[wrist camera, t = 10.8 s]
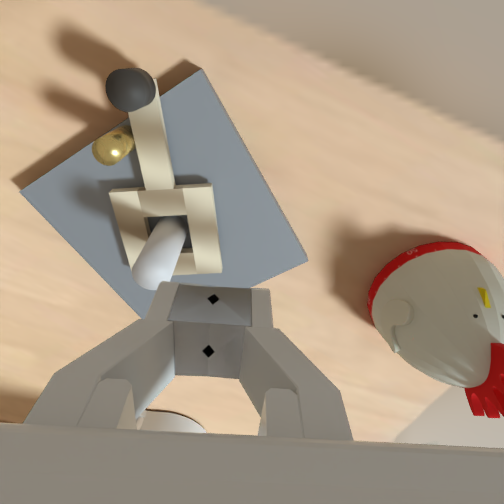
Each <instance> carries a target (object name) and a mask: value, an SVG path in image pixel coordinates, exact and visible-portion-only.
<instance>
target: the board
mask: <svg viewBox="0 0 504 504" xmlns="http://www.w3.org/2000/svg"><path fill="white" fill-rule="evenodd" d="M160 102H161V108H162V113H163V119H164V124H165V130H166V135H167V141H168V146H169V152H170V157H171V163H172V168H173V174H174V180H175V185H186V184H204V183H212V186H213V194H214V202H215V210H216V218H217V226H218V234H219V242H220V251H221V259H222V267H223V268H222V273H209V274H189V275H172V274H173V272H174V269H175V266H176V263H177V260H178V258H179V255H180V252H181V249H182V248H193V247H192V241H191V236H190V230H189V224H188V218H187V215H175V216H157V217H147V218H148V222H149V226H150V231H151V235H150V237H149V238H148V240H147V242H146V244H145V245H144V247H143V249H142V251H141V253H140V254H139V256H138V258H137V260H136V261H135V263H134V265H133V267H132V271H131V268H130V265H129V261H128V258H127V254H126V251H125V247H124V244H123V240H122V237H121V234H120V230H119V227H118V223H117V220H116V216H115V213H114V209H113V206H112V203H111V199H110V196H109V192H110V191H111V190H112V189H118V188H135V187H145V184H144V180H143V175H142V171H141V167H140V162H139V158H138V154H137V149H136V148H135V149H134V150H133V151H131V152H130V153H129V154H128V155H126V156H125V157H124V158H123V159H121V160H120V161H119V162H118V163H116V164H115V165H112V166H106V165H103V164H101V163H99V162H98V161H97V160H96V159H95V157H94V156H93V153H92V144H93V142H94V141H93V142H92V143H91V144H89V145H88V146H86V147H85V148H83V149H82V150H80V151H79V152H77V153H76V154H74V155H73V156H71V157H70V158H68V159H67V160H65V161H64V162H62V163H61V164H59V165H58V166H56V167H55V168H53V169H52V170H51V171H49V172H48V173H46V174H45V175H43V176H42V177H40V178H39V179H37V180H36V181H34V182H33V183H31V184H30V185H28V186H27V187H25V188H24V189H22V190H21V191H19V192H20V193H21V194H22V195H23V196H24V197H25V198H26V199H27V200H28V202H29V203H30V204H31V205H32V206H33V207H34V208H35V209H36V210H37V211H38V212H39V213H40V214H41V215H42V216H43V217H44V218H45V219H46V220H47V221H48V222H49V223H50V224H51V225H52V226H53V227H54V228H55V229H56V230H57V232H58V233H59V234H60V235H61V236H62V237H63V238H64V239H65V240H66V241H67V242H68V243H69V244H70V245H71V246H72V247H73V248H74V249H75V250H76V251H77V252H78V253H79V254H80V255H81V256H82V257H83V258H84V259H85V261H86V262H87V263H88V264H89V265H90V266H91V267H92V268H93V269H94V270H95V271H96V272H97V273H98V274H99V275H100V276H101V277H102V278H103V279H104V280H105V281H106V282H107V283H108V284H109V285H110V286H111V287H112V288H113V290H114V291H115V292H116V293H117V294H118V295H119V296H120V297H121V298H122V299H123V300H124V301H125V302H126V303H127V304H128V305H129V306H130V307H131V308H132V309H133V310H134V311H135V312H136V313H137V314H138V315H139V316H140V317H141V318H142V319H145V317H146V315H147V312H148V310H149V307H150V305H151V303H152V300H153V298H154V295H155V293H156V290H157V288H158V285H159V283H161V282H162V281H168V282H179V283H191V284H202V285H212V286H220V287H235V288H251V287H253V286H255V285H257V284H259V283H262V282H264V281H266V280H268V279H270V278H272V277H275V276H277V275H279V274H281V273H283V272H285V271H288V270H290V269H292V268H294V267H296V266H298V265H301V264H303V263H305V262H307V261H308V258H307V255H306V252H305V251H304V249H303V247H302V245H301V243H300V242H299V240H298V238H297V236H296V235H295V233H294V231H293V229H292V227H291V226H290V224H289V222H288V220H287V219H286V217H285V215H284V213H283V211H282V210H281V208H280V206H279V204H278V203H277V201H276V199H275V197H274V195H273V194H272V192H271V190H270V188H269V187H268V185H267V183H266V181H265V179H264V178H263V176H262V174H261V172H260V170H259V169H258V167H257V165H256V163H255V162H254V160H253V158H252V156H251V154H250V153H249V151H248V149H247V147H246V146H245V144H244V142H243V140H242V138H241V137H240V135H239V133H238V131H237V130H236V128H235V126H234V124H233V122H232V121H231V119H230V117H229V115H228V114H227V112H226V110H225V108H224V106H223V105H222V103H221V101H220V99H219V98H218V96H217V94H216V92H215V90H214V89H213V87H212V85H211V83H210V82H209V80H208V78H207V76H206V74H205V73H204V71H203V69H200V70H199V71H197V72H196V73H194V74H193V75H191V76H190V77H188V78H187V79H185V80H184V81H182V82H181V83H179V84H178V85H176V86H175V87H174V88H172V89H171V90H169V91H168V92H166V93H165V94H163V95H162V96H160ZM123 125H129V126H131V123H130V119H129V118H128V119H126V120H125V121H123V122H122V123H120V124H119V125H117V126H116V127H114V128H113V129H111V130H110V131H108V132H107V133H109V132H111V131H113V130H115V129H117V128H119V127H121V126H123ZM107 133H105V134H104V135H106V134H107ZM104 135H102V136H104ZM102 136H101V137H102ZM99 138H100V137H99Z"/></svg>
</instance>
